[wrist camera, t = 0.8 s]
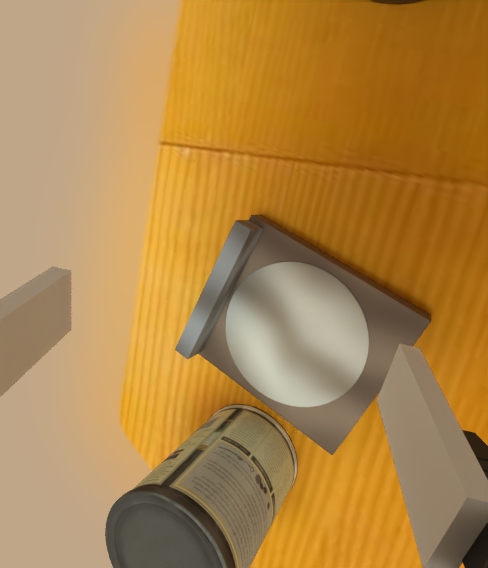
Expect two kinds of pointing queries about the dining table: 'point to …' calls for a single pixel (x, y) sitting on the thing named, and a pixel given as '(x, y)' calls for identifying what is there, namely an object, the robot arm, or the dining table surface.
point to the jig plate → (299, 329)
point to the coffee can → (207, 497)
